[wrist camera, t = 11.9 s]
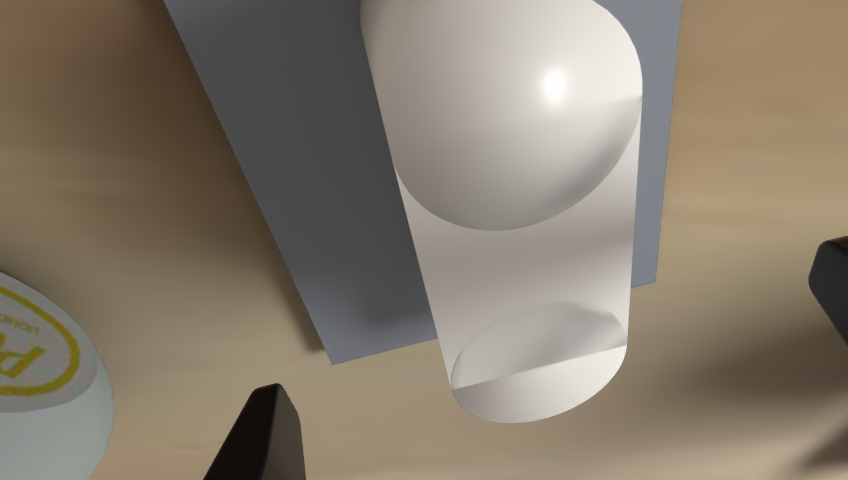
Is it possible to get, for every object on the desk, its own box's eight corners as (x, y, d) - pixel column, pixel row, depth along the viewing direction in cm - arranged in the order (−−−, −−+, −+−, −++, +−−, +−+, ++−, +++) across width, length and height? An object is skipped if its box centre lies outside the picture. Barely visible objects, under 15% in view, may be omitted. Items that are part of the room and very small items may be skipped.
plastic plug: (518, -101, 12) (650, -46, 7) (545, 291, 20) (621, 442, 15) (339, -57, 12) (357, 27, 7) (434, 319, 20) (475, 480, 15)
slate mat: (691, -333, 11) (714, -342, 10) (645, 267, 21) (655, 281, 20) (91, -186, 11) (77, -186, 10) (331, 348, 21) (332, 364, 20)
